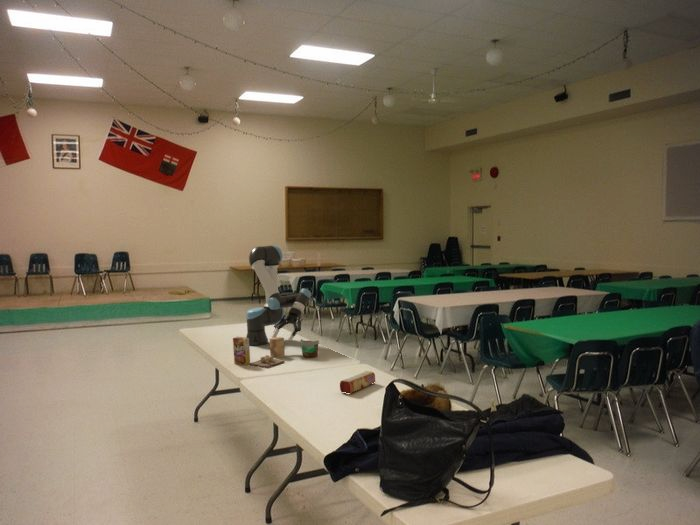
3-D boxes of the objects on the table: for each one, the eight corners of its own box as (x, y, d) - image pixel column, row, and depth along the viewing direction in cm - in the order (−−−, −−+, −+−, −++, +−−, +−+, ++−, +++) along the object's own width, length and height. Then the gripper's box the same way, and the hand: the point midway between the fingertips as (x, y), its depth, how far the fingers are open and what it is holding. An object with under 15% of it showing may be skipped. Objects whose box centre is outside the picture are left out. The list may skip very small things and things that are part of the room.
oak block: (270, 356, 330) (269, 338, 329) (277, 354, 335) (276, 336, 334) (277, 358, 326) (277, 339, 326) (284, 355, 331) (283, 337, 330)
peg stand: (249, 365, 312) (249, 358, 312) (267, 359, 323) (266, 352, 323) (267, 368, 304) (267, 361, 303) (284, 362, 315) (284, 355, 315)
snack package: (365, 382, 272) (365, 368, 271) (376, 384, 268) (376, 370, 267) (339, 393, 255) (338, 379, 254) (350, 396, 251) (350, 381, 250)
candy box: (233, 364, 316) (232, 337, 315) (238, 362, 320) (237, 336, 318) (245, 365, 311) (244, 338, 310) (250, 363, 315) (249, 337, 314)
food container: (296, 357, 326) (295, 341, 325) (302, 355, 331) (301, 338, 330) (314, 359, 320) (313, 342, 319) (319, 356, 325) (319, 340, 325)
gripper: (278, 306, 349) (263, 333, 337) (309, 308, 334) (293, 337, 323) (284, 313, 353) (269, 340, 342) (314, 315, 339) (300, 344, 328)
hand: (281, 339), depth 332 cm, fingers open, 13 cm apart
